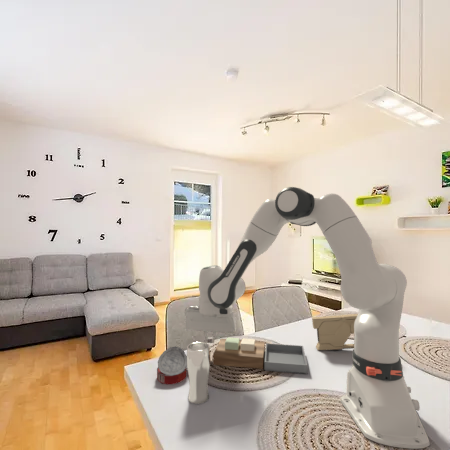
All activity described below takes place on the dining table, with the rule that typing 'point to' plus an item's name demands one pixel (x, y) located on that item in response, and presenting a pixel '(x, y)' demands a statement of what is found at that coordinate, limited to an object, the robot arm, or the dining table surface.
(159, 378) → the canned food
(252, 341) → the tile
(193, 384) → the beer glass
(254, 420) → the dining table surface
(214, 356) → the wooden block
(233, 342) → the tile
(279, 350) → the tray
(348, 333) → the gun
